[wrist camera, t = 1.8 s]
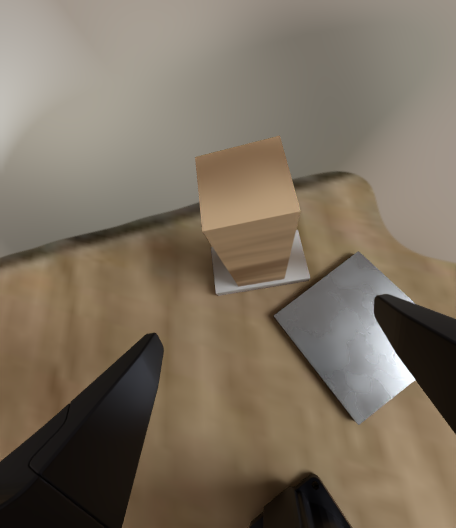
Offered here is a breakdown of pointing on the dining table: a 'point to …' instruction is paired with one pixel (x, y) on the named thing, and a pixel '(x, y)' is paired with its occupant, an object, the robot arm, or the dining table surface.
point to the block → (251, 217)
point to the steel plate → (348, 336)
